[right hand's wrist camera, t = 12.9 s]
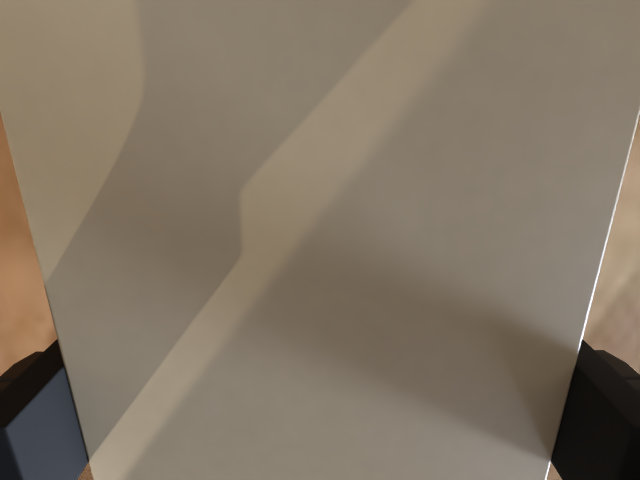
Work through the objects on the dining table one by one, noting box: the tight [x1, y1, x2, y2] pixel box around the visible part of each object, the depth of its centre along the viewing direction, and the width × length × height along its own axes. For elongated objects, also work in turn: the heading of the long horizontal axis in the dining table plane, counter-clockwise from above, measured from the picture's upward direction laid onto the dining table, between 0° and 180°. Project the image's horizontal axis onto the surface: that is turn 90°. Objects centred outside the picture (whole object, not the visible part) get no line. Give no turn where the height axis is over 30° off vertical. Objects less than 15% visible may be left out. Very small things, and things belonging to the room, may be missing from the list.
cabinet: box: [0, 0, 640, 480], centre depth 12 cm, size 19×11×10 cm, turn 0°
